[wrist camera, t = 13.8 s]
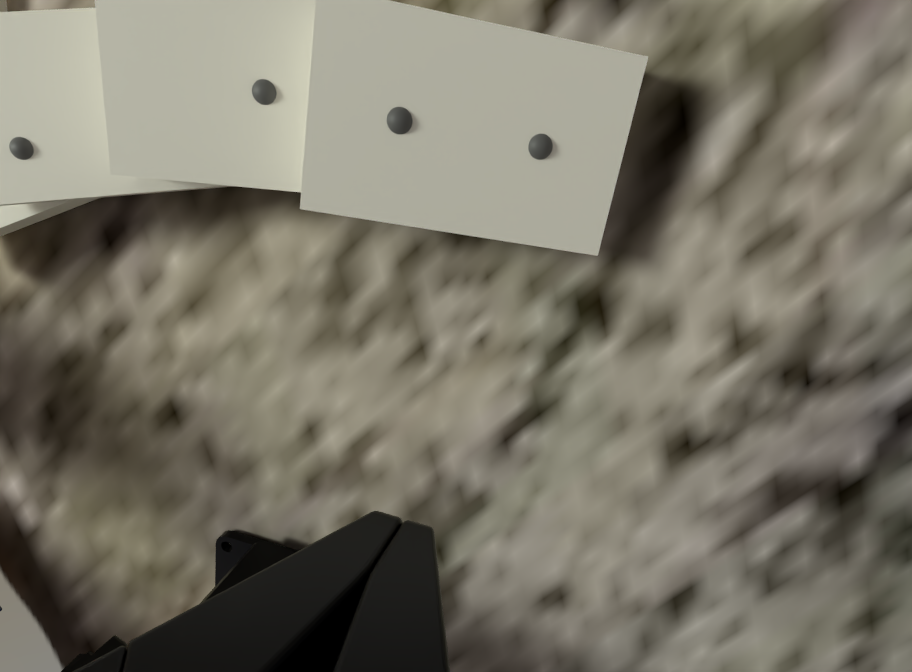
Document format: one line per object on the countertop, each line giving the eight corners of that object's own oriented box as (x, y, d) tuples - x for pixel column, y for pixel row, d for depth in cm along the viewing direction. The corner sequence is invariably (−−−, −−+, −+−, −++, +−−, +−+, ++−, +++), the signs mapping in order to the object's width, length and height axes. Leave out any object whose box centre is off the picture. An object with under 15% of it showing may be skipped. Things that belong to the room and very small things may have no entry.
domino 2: (408, 203, 16) (107, 174, 15) (406, 197, 18) (139, 172, 16) (422, 5, 14) (87, -44, 13) (418, 22, 16) (124, -19, 15)
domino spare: (600, 257, 15) (298, 210, 14) (577, 244, 17) (310, 201, 16) (651, 55, 13) (315, -18, 12) (620, 66, 15) (327, 3, 14)
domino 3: (237, 184, 17) (-50, 208, 16) (251, 184, 19) (-4, 206, 18) (202, 0, 15) (-114, 14, 14) (221, 21, 17) (-57, 35, 16)
